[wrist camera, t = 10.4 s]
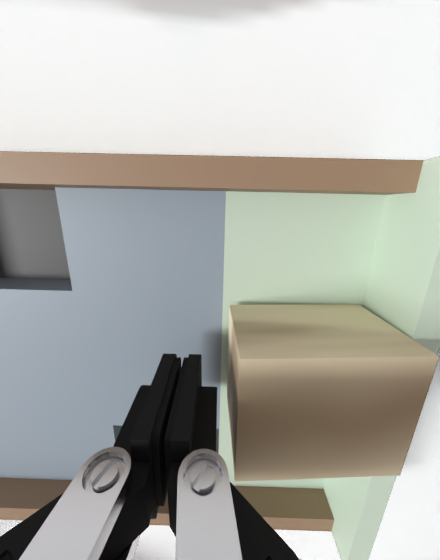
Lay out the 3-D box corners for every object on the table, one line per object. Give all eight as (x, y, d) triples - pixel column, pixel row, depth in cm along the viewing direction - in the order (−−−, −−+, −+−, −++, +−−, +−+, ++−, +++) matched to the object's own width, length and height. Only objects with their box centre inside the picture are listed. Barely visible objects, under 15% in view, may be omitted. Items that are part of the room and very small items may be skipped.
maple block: (340, 392, 12) (399, 475, 9) (226, 394, 12) (234, 481, 8) (358, 304, 11) (439, 356, 7) (229, 304, 11) (240, 359, 7)
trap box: (324, 466, 17) (364, 571, 12) (-40, 454, 17) (-144, 552, 12) (384, 175, 11) (506, 150, 6) (-158, 163, 11) (-434, 130, 7)
